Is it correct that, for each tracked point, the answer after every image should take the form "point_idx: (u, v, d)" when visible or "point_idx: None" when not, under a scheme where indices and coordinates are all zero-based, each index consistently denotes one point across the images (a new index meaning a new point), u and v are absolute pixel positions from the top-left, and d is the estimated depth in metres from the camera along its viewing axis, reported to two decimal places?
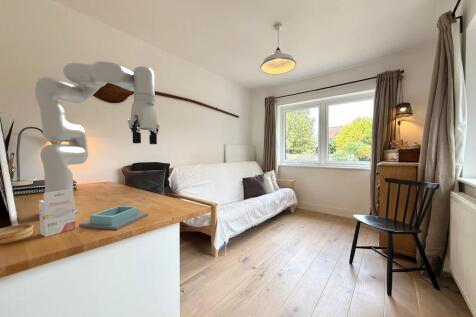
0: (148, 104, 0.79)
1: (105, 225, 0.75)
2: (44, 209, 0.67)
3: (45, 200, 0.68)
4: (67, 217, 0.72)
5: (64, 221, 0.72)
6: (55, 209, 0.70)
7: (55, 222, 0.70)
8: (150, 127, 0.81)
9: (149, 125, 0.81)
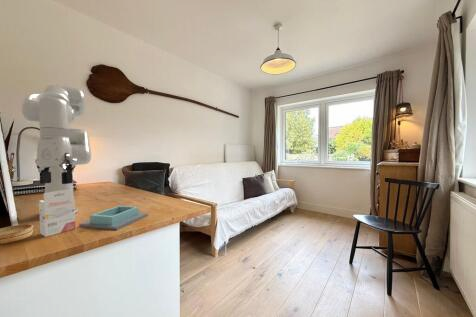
0: None
1: (105, 225, 0.75)
2: (44, 209, 0.67)
3: (45, 200, 0.68)
4: (67, 217, 0.72)
5: (64, 221, 0.72)
6: (55, 209, 0.70)
7: (55, 222, 0.70)
8: None
9: None
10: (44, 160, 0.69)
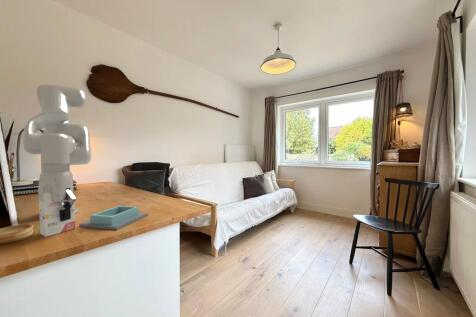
0: None
1: (105, 225, 0.75)
2: (44, 209, 0.67)
3: (45, 200, 0.68)
4: None
5: (64, 221, 0.72)
6: (54, 209, 0.70)
7: (55, 222, 0.70)
8: None
9: None
10: None
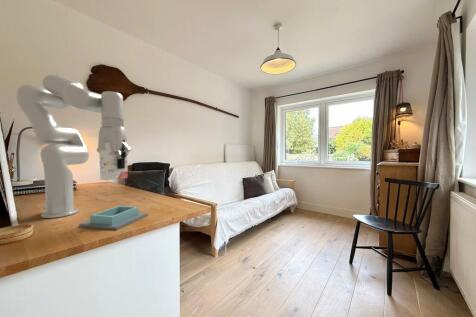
0: None
1: (105, 225, 0.75)
2: (105, 156, 0.78)
3: (106, 149, 0.78)
4: None
5: (119, 169, 0.82)
6: (113, 158, 0.80)
7: (113, 169, 0.80)
8: None
9: None
10: None
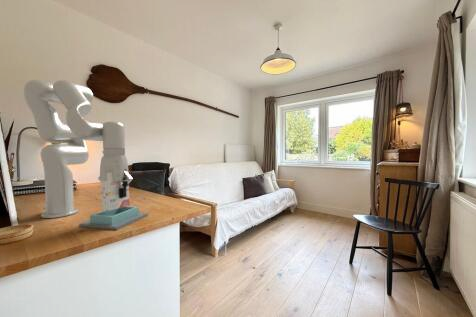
0: None
1: (105, 225, 0.75)
2: (107, 187, 0.78)
3: (108, 179, 0.79)
4: None
5: (121, 198, 0.83)
6: (115, 187, 0.81)
7: (115, 199, 0.81)
8: None
9: None
10: None
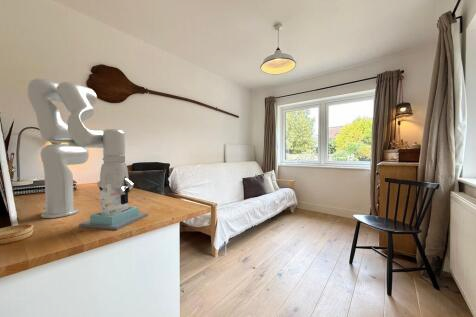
0: None
1: (105, 225, 0.75)
2: (107, 198, 0.79)
3: (108, 190, 0.79)
4: (122, 205, 0.84)
5: (120, 208, 0.83)
6: (114, 198, 0.81)
7: (115, 209, 0.81)
8: None
9: None
10: (107, 183, 0.80)
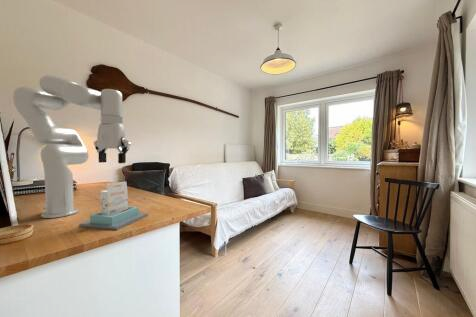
0: None
1: (105, 225, 0.75)
2: (107, 198, 0.79)
3: (108, 190, 0.79)
4: (122, 205, 0.84)
5: (120, 209, 0.83)
6: (114, 198, 0.81)
7: (115, 209, 0.81)
8: None
9: None
10: (104, 142, 0.81)
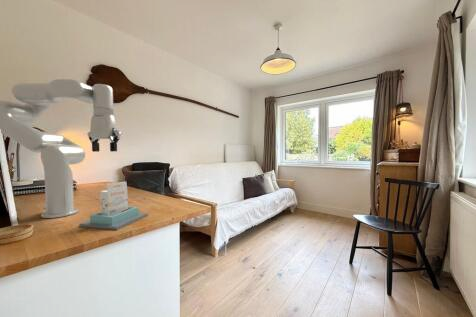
0: None
1: (105, 225, 0.75)
2: (107, 198, 0.79)
3: (108, 190, 0.79)
4: (122, 205, 0.84)
5: (120, 209, 0.83)
6: (114, 198, 0.81)
7: (115, 209, 0.81)
8: None
9: None
10: (96, 132, 0.89)
